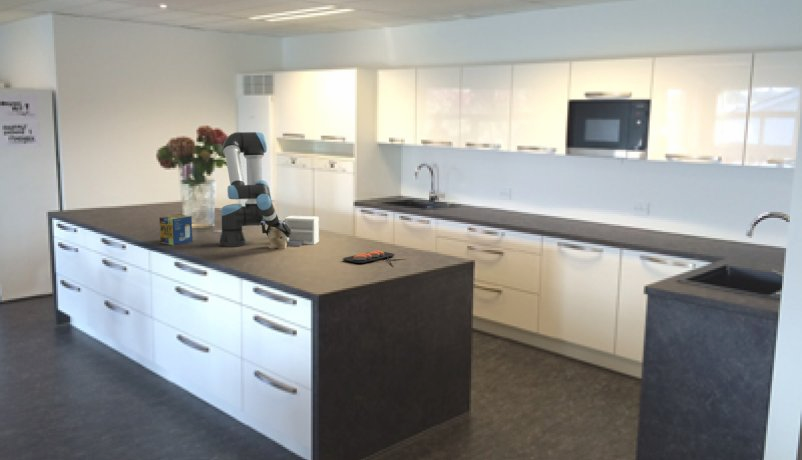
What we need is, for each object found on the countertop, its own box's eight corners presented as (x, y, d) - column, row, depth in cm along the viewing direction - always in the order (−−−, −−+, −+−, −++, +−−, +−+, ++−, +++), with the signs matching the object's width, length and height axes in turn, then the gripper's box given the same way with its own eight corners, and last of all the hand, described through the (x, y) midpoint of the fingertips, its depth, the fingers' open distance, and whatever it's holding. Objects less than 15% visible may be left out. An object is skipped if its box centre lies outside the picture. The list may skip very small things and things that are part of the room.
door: (269, 248, 382) (268, 227, 380) (271, 247, 386) (271, 226, 384) (284, 249, 381) (284, 228, 379) (286, 247, 385) (286, 227, 383)
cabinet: (280, 245, 391) (280, 220, 388) (290, 240, 408) (289, 215, 405) (310, 246, 388) (310, 221, 385) (319, 241, 405) (318, 216, 403)
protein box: (160, 243, 392) (158, 217, 389) (180, 239, 405) (179, 214, 403) (173, 245, 387) (172, 218, 384) (193, 241, 400) (192, 215, 398)
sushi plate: (376, 253, 374) (376, 247, 373) (419, 261, 355) (419, 254, 355) (340, 262, 352) (340, 254, 351) (383, 271, 333) (383, 263, 332)
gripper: (249, 220, 368) (260, 244, 386) (287, 222, 364) (296, 245, 383) (252, 209, 372) (263, 233, 390) (290, 211, 369) (299, 234, 387)
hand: (280, 239), depth 386 cm, fingers closed on door, 9 cm apart
